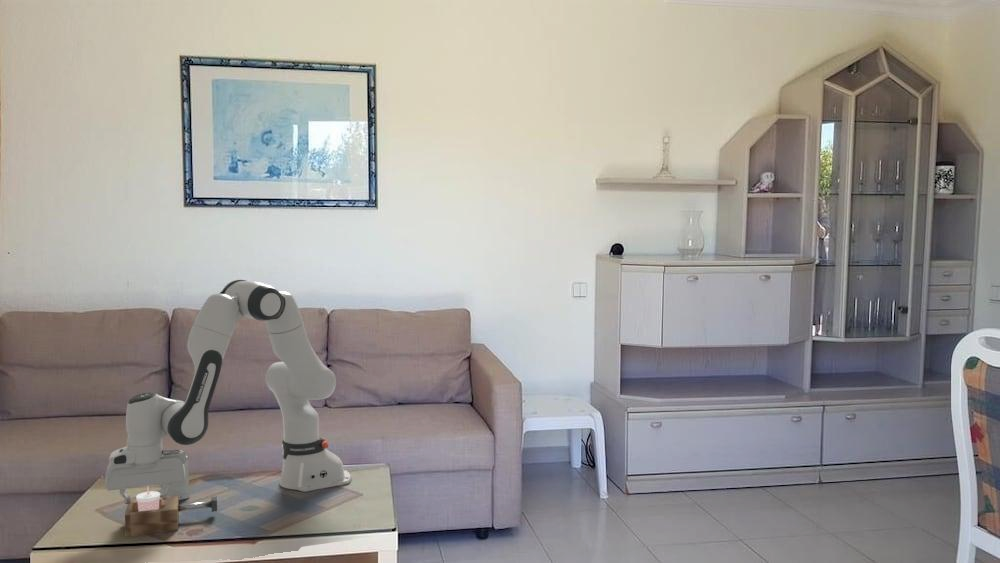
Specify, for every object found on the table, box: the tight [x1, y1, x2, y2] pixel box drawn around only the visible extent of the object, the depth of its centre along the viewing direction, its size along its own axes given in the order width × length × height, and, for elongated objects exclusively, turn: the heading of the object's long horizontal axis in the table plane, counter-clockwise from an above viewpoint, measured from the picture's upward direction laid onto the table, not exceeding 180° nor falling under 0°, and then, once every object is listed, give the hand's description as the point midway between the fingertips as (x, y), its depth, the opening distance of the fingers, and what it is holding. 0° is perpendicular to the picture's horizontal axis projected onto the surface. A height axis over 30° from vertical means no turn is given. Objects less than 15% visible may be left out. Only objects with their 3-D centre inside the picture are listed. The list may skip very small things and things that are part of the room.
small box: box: [160, 452, 190, 501], centre depth 240 cm, size 8×6×13 cm
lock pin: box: [178, 496, 218, 513], centre depth 223 cm, size 13×3×3 cm, turn 111°
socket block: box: [124, 496, 180, 538], centre depth 218 cm, size 13×11×6 cm
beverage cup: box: [135, 486, 161, 511], centre depth 217 cm, size 6×6×14 cm
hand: (146, 501), depth 217 cm, fingers open, 8 cm apart
